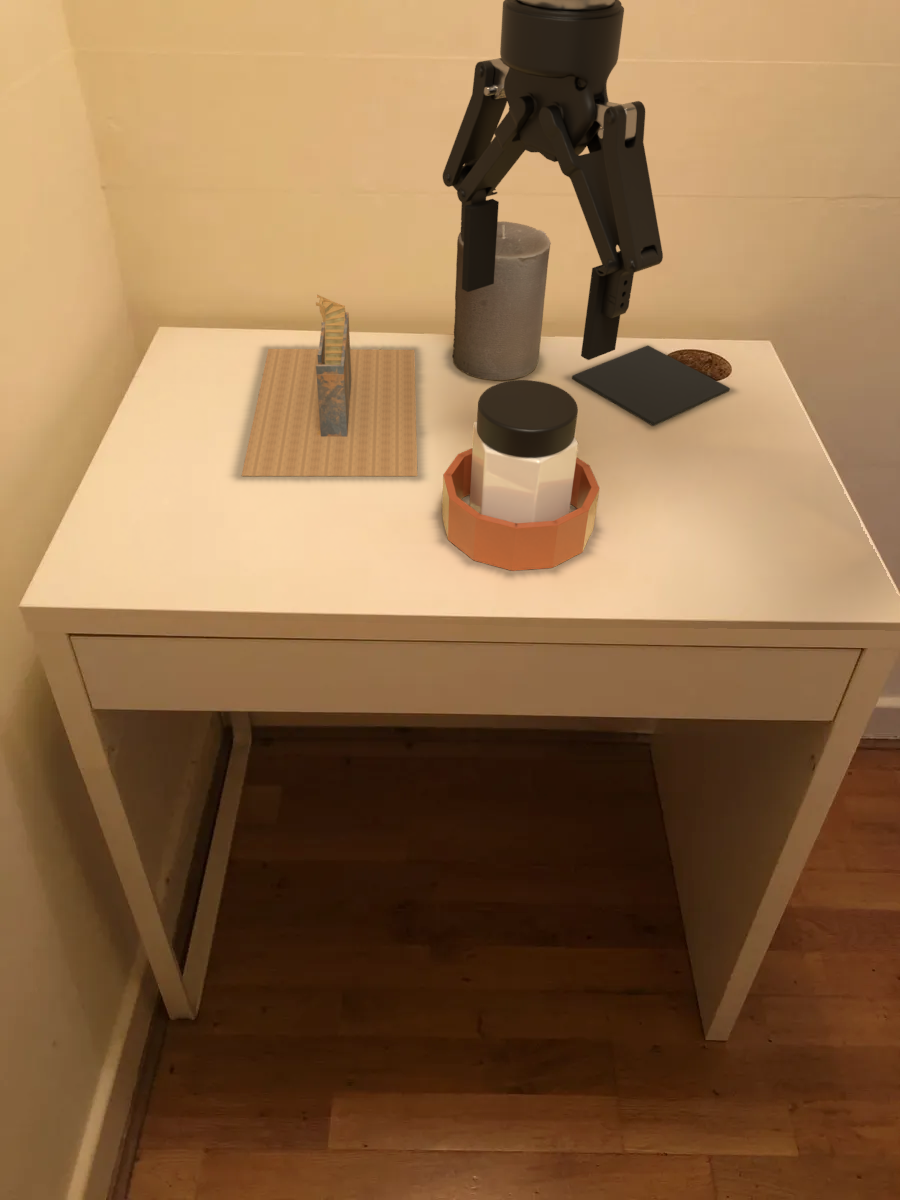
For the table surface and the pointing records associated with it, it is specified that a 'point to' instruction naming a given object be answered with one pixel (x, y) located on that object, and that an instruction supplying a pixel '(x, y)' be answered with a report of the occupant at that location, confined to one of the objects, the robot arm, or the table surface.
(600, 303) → the robot arm
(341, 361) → the ruin model on sheet
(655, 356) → the mat
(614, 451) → the table surface
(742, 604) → the table surface
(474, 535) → the ring
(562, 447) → the jar
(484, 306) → the pillar candle
